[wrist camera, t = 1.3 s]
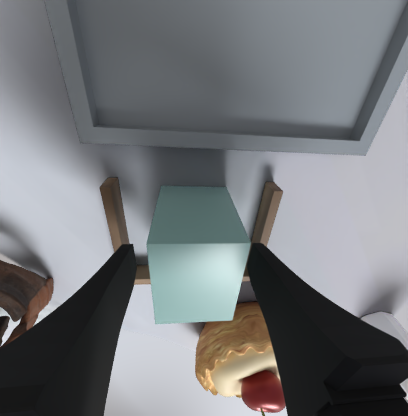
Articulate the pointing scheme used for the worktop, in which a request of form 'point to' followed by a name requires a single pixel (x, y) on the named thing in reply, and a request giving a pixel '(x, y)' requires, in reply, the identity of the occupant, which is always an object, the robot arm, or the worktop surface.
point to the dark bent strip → (120, 236)
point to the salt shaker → (389, 331)
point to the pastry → (240, 360)
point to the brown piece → (21, 298)
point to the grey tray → (231, 71)
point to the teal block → (196, 255)
